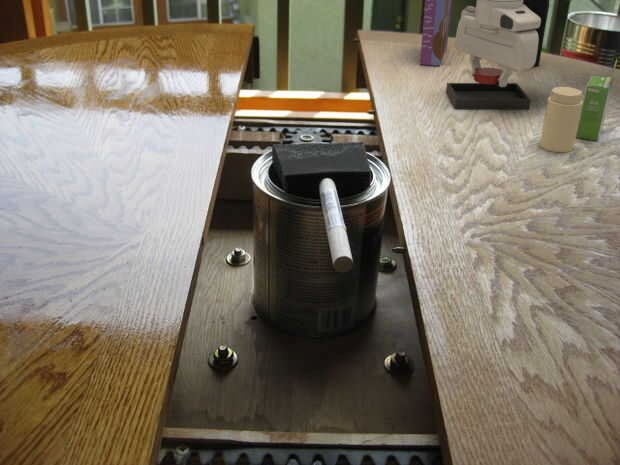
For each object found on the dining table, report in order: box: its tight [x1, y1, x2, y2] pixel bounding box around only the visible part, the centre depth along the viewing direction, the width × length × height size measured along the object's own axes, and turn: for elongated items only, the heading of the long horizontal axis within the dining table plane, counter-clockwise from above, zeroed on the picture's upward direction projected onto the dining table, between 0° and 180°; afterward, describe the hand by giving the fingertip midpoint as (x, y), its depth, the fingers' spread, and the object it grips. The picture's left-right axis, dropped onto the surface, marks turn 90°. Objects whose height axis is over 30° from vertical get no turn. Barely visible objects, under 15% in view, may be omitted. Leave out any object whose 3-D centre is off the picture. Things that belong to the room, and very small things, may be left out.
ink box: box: [576, 58, 618, 141], centre depth 119 cm, size 7×4×13 cm, turn 152°
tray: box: [445, 82, 532, 110], centre depth 139 cm, size 15×11×2 cm
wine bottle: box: [523, 0, 550, 68], centre depth 157 cm, size 6×6×30 cm
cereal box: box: [419, 0, 453, 67], centre depth 164 cm, size 17×5×24 cm, turn 164°
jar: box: [539, 86, 583, 153], centre depth 115 cm, size 6×6×10 cm
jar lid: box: [473, 67, 503, 85], centre depth 137 cm, size 6×6×2 cm
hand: (488, 81), depth 137 cm, fingers closed on jar lid, 6 cm apart
